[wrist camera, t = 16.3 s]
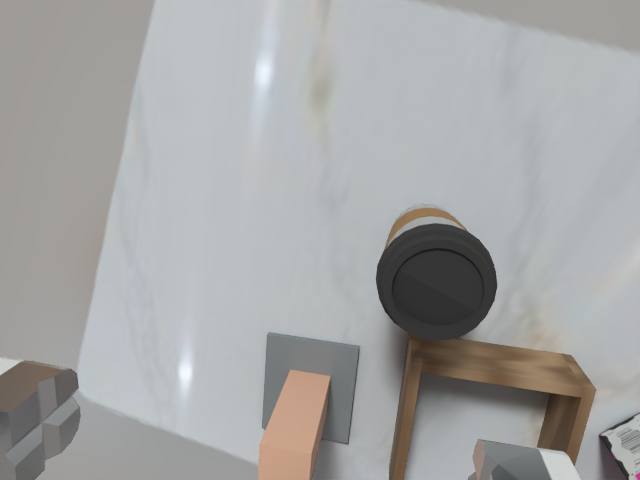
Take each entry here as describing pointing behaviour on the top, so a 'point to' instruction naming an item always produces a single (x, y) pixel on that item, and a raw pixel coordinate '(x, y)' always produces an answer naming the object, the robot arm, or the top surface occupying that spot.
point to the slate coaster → (318, 360)
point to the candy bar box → (625, 445)
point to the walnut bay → (502, 369)
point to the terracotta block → (295, 428)
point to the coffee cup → (435, 275)
